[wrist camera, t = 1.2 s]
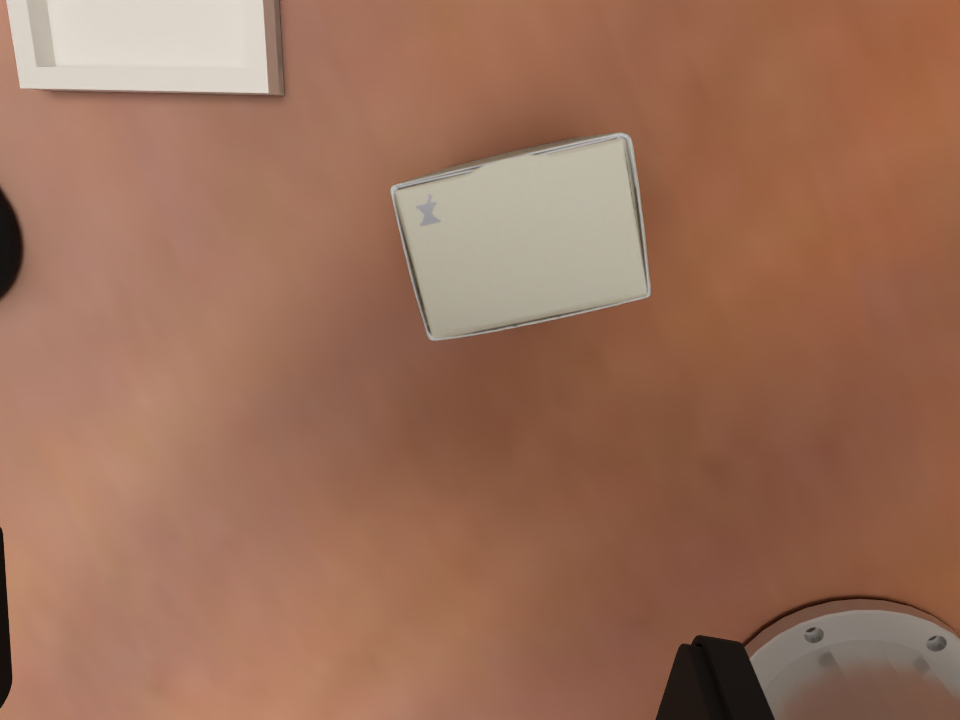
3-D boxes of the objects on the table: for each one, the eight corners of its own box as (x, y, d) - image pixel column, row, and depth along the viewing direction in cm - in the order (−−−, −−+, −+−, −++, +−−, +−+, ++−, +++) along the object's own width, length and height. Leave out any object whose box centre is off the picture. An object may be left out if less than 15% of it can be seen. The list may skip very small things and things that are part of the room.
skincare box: (462, 269, 31) (415, 350, 19) (439, 167, 29) (373, 186, 18) (611, 238, 30) (658, 303, 18) (593, 132, 29) (631, 128, 17)
